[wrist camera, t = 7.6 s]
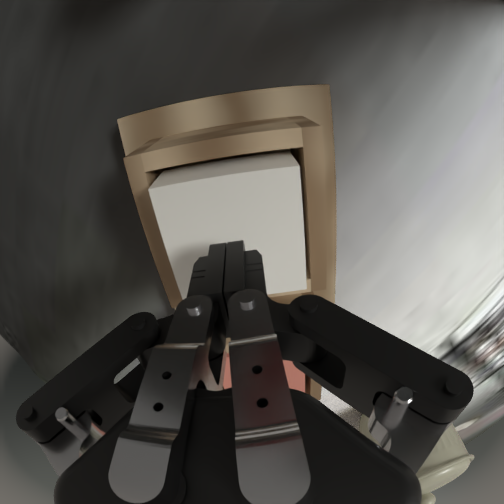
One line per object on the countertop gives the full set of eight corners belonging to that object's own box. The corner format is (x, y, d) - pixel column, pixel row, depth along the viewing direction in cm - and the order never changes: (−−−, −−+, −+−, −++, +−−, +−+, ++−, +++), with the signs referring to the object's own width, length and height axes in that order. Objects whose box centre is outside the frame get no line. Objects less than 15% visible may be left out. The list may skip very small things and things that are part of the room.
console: (321, 84, 18) (356, 85, 12) (326, 354, 33) (338, 405, 27) (127, 115, 19) (82, 132, 13) (207, 368, 33) (203, 419, 27)
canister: (335, 434, 46) (352, 533, 28) (356, 384, 37) (390, 522, 19) (418, 414, 46) (446, 501, 28) (456, 360, 37) (505, 467, 19)
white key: (289, 151, 16) (299, 165, 13) (298, 259, 19) (306, 289, 17) (163, 171, 16) (148, 189, 13) (190, 273, 19) (184, 304, 17)
